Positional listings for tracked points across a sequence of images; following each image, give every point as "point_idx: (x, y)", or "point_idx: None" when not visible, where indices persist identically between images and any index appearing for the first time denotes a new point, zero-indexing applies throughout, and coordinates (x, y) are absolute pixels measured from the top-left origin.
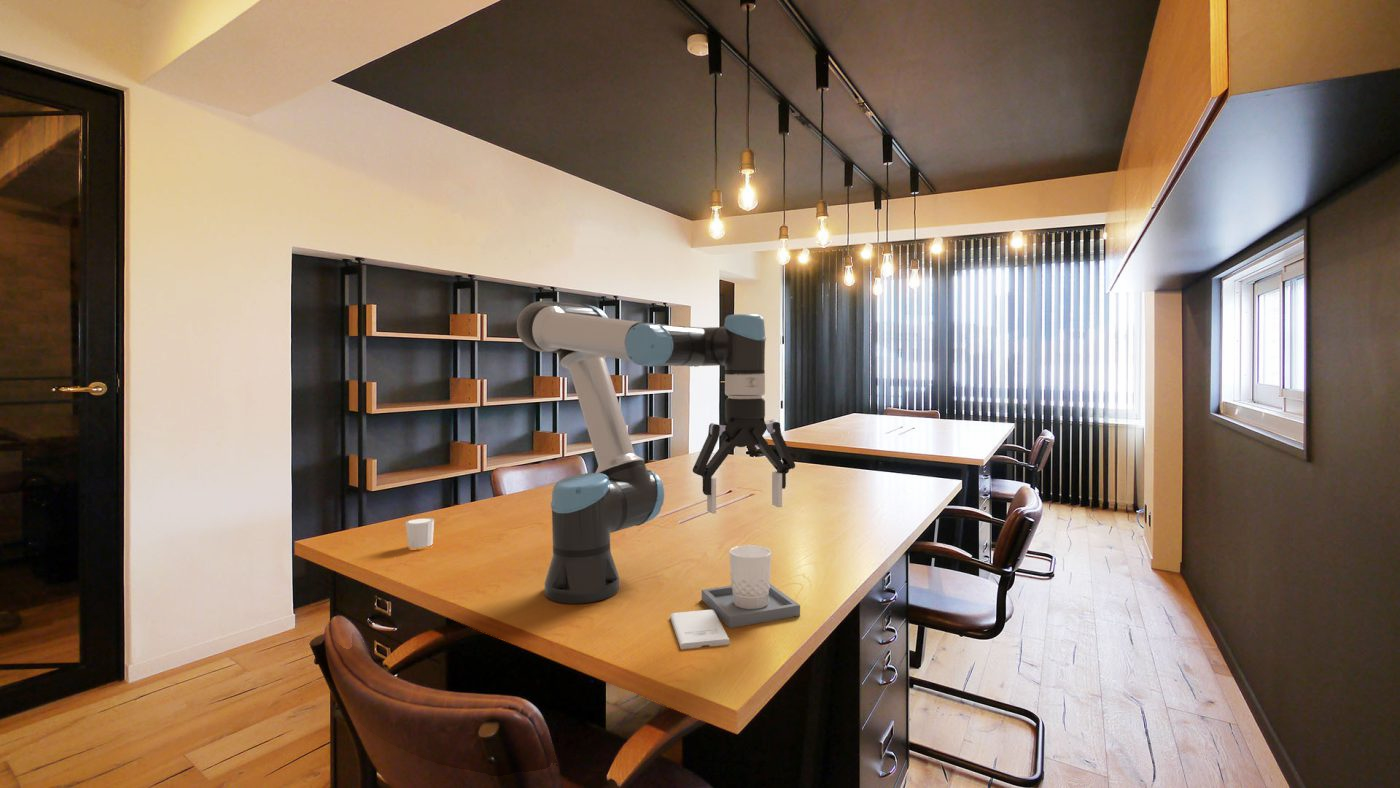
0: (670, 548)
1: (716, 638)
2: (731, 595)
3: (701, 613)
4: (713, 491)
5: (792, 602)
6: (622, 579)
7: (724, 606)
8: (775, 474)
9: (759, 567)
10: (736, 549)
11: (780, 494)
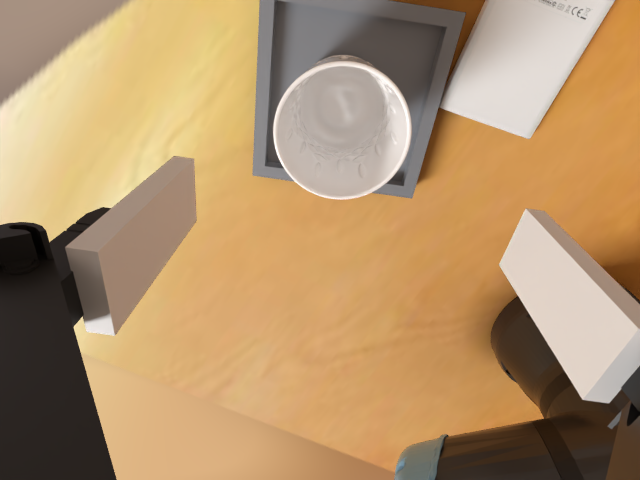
0: (311, 412)
1: None
2: None
3: (478, 101)
4: (601, 272)
5: (269, 9)
6: (469, 339)
7: (432, 82)
8: (113, 287)
9: (352, 59)
10: (353, 191)
11: (155, 181)
